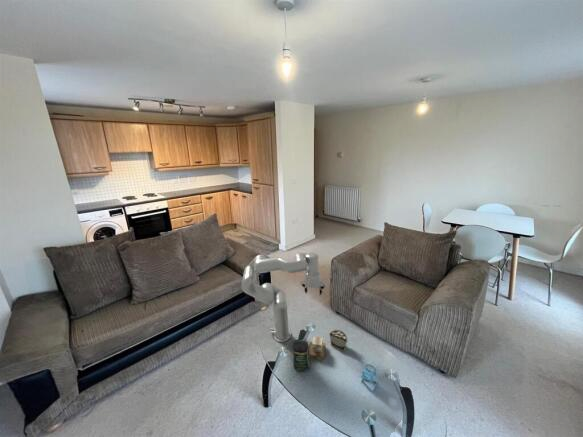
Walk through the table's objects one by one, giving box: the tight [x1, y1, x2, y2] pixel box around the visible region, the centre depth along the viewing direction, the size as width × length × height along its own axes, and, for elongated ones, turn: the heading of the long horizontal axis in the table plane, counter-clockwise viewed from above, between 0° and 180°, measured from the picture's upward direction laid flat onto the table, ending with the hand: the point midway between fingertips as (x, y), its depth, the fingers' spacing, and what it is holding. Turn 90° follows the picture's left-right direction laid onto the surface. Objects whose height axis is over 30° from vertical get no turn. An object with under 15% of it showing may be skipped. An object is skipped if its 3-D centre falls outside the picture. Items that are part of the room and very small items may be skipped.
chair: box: [360, 363, 379, 394], centre depth 134 cm, size 8×8×12 cm
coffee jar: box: [292, 339, 310, 372], centre depth 146 cm, size 10×8×19 cm
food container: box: [328, 329, 348, 352], centre depth 160 cm, size 12×6×10 cm, turn 58°
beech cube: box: [312, 336, 324, 352], centre depth 155 cm, size 6×6×6 cm
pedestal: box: [308, 341, 327, 361], centre depth 157 cm, size 10×10×4 cm
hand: (313, 293), depth 163 cm, fingers open, 9 cm apart
